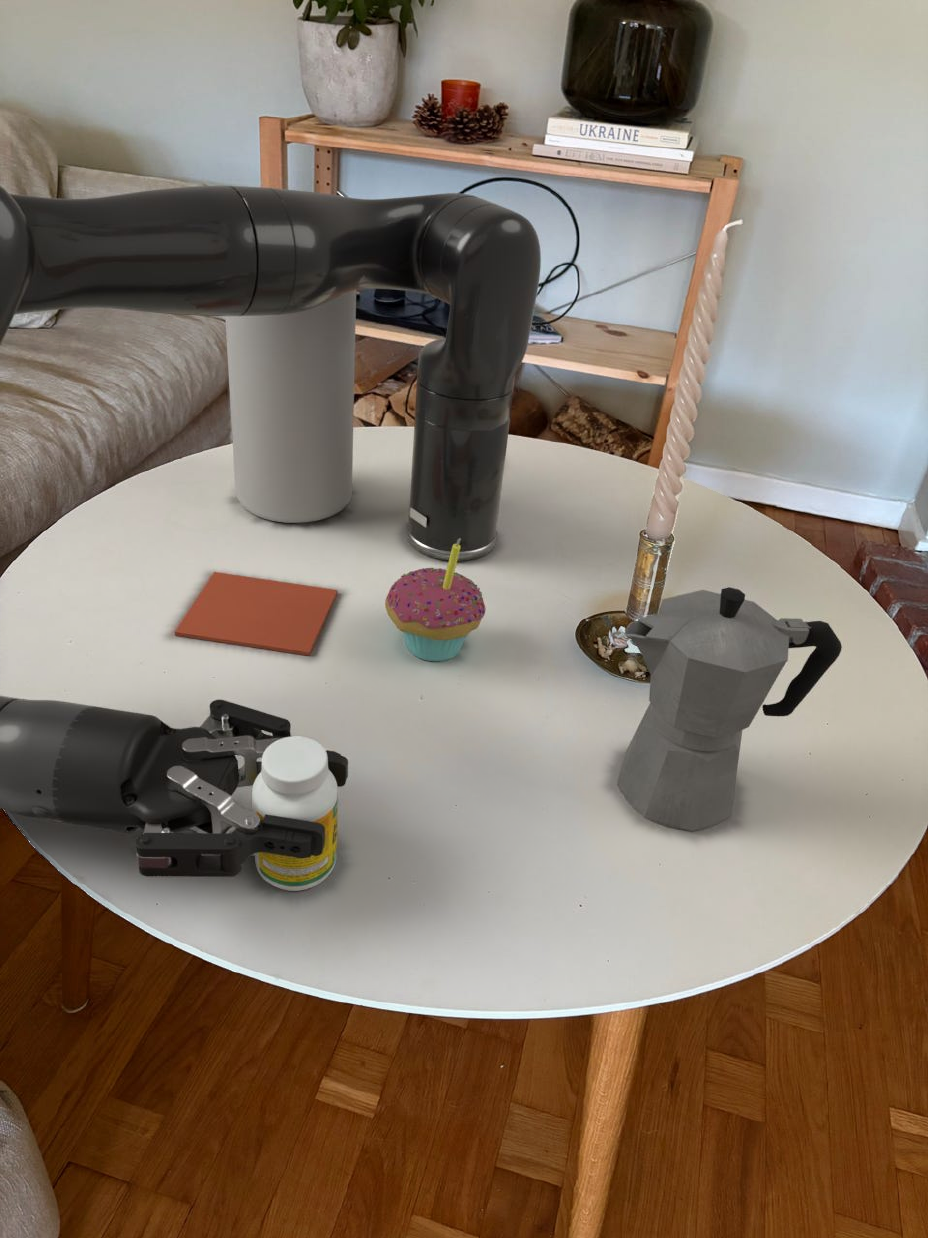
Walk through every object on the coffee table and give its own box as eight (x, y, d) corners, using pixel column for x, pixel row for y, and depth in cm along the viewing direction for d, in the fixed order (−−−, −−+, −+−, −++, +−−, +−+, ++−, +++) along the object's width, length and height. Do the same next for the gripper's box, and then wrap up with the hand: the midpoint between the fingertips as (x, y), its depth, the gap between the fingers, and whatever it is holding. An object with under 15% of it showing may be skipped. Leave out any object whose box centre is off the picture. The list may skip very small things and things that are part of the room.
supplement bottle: (246, 844, 65) (239, 739, 59) (321, 822, 67) (321, 719, 61) (269, 905, 61) (264, 798, 56) (348, 879, 63) (351, 775, 58)
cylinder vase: (261, 464, 111) (252, 238, 96) (365, 482, 109) (372, 256, 95) (217, 514, 101) (199, 270, 86) (331, 534, 99) (333, 290, 85)
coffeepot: (603, 835, 68) (653, 631, 58) (579, 744, 76) (620, 550, 66) (808, 834, 70) (892, 636, 60) (764, 746, 78) (832, 557, 67)
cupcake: (499, 649, 85) (514, 532, 79) (432, 689, 80) (443, 567, 73) (431, 607, 90) (440, 493, 83) (363, 642, 85) (367, 523, 78)
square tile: (214, 575, 91) (214, 571, 91) (337, 593, 90) (337, 589, 90) (174, 635, 83) (174, 631, 83) (309, 655, 82) (309, 652, 82)
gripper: (8, 802, 53) (305, 851, 52) (118, 651, 65) (362, 688, 64) (31, 890, 58) (306, 936, 57) (130, 733, 69) (359, 769, 68)
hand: (334, 804), depth 60 cm, fingers closed on supplement bottle, 5 cm apart
